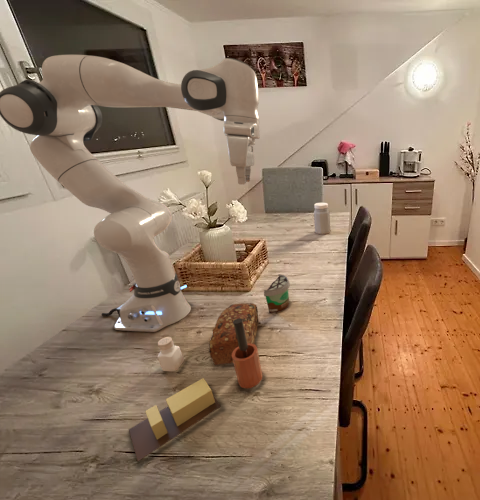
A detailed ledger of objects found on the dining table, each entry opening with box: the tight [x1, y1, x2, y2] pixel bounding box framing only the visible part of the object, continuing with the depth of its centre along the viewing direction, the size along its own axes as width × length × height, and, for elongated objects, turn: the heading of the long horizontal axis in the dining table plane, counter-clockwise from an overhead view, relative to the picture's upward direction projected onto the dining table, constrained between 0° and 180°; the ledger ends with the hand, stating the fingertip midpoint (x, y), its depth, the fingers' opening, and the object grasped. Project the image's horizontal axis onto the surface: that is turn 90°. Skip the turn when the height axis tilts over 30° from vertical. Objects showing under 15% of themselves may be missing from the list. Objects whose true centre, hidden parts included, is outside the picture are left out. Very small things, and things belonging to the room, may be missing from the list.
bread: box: [208, 302, 259, 366], centre depth 83 cm, size 19×11×10 cm, turn 9°
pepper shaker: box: [157, 336, 185, 372], centre depth 74 cm, size 4×4×10 cm
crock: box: [232, 343, 263, 389], centre depth 70 cm, size 6×6×10 cm
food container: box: [263, 273, 291, 314], centre depth 100 cm, size 12×6×10 cm, turn 168°
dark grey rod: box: [233, 318, 248, 358], centre depth 68 cm, size 2×2×18 cm
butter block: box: [165, 377, 215, 426], centre depth 63 cm, size 8×5×4 cm, turn 135°
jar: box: [313, 202, 331, 235], centre depth 171 cm, size 10×10×18 cm
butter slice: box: [144, 404, 168, 439], centre depth 59 cm, size 2×5×4 cm, turn 46°
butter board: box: [128, 394, 222, 462], centre depth 62 cm, size 16×9×1 cm, turn 135°
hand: (244, 182), depth 79 cm, fingers open, 8 cm apart
